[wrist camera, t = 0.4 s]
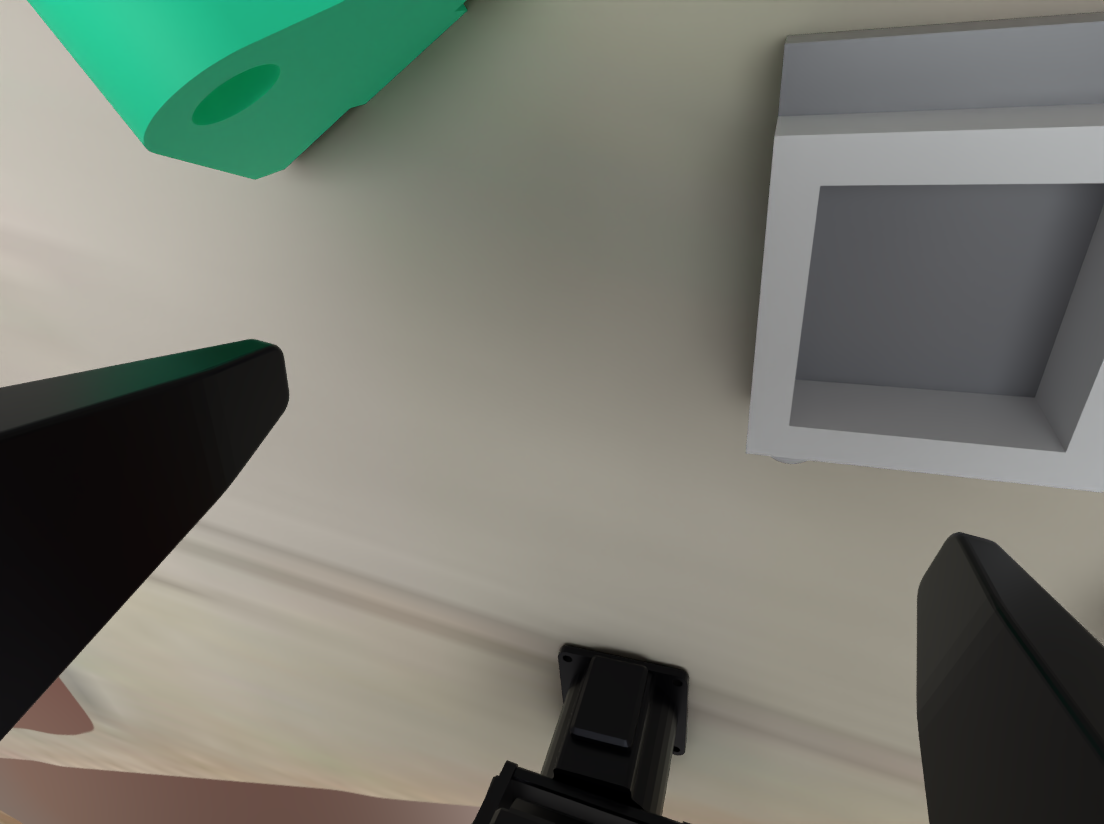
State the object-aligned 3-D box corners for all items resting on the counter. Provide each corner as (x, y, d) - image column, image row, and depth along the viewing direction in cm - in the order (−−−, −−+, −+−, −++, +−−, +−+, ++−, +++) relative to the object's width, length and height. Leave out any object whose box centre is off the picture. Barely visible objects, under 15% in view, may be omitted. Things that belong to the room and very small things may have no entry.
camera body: (1020, 420, 20) (1080, 540, 16) (753, 397, 23) (741, 496, 18) (1165, 7, 15) (1322, 16, 10) (787, 35, 17) (782, 53, 13)
